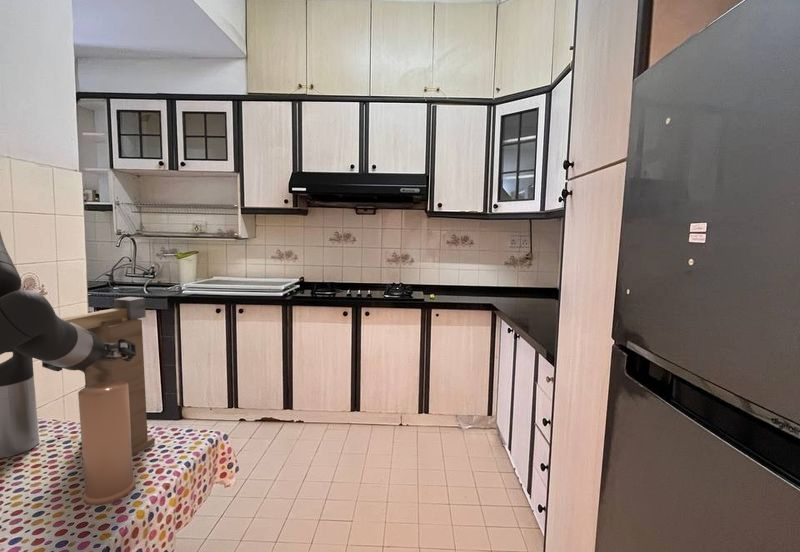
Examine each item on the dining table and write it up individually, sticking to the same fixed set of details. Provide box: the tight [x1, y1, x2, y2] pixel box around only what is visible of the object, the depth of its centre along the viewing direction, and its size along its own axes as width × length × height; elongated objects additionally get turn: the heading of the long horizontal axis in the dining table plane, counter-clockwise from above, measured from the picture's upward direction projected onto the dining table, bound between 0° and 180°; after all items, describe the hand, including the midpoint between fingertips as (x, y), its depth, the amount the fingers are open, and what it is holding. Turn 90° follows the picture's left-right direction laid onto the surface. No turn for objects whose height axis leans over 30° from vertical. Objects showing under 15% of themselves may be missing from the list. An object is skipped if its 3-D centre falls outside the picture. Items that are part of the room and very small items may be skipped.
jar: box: [77, 381, 136, 506], centre depth 80 cm, size 9×9×22 cm
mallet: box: [59, 296, 147, 329], centre depth 89 cm, size 5×19×5 cm, turn 164°
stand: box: [86, 318, 156, 458], centre depth 94 cm, size 10×10×33 cm
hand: (106, 361), depth 86 cm, fingers open, 8 cm apart
